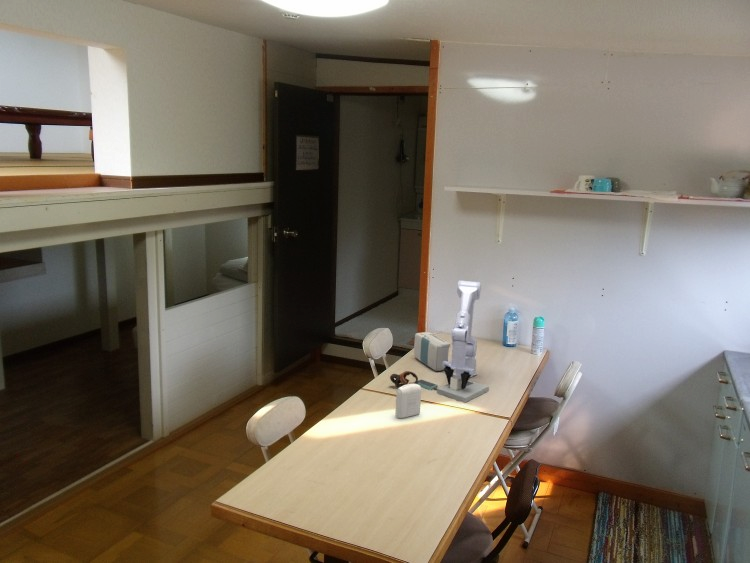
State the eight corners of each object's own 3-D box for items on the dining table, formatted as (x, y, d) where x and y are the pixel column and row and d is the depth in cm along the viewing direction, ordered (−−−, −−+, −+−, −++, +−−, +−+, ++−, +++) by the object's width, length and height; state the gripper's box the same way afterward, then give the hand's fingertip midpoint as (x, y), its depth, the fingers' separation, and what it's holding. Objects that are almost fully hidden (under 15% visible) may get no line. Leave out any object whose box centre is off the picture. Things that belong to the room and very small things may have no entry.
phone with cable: (414, 384, 267) (414, 381, 267) (420, 381, 270) (420, 379, 270) (437, 392, 259) (437, 389, 259) (443, 389, 262) (444, 386, 262)
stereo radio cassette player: (412, 358, 301) (414, 319, 296) (427, 356, 304) (429, 317, 300) (434, 372, 282) (437, 331, 278) (449, 370, 286) (452, 329, 281)
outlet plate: (460, 382, 272) (461, 377, 271) (488, 391, 263) (488, 385, 262) (436, 393, 258) (437, 387, 258) (465, 402, 249) (465, 397, 249)
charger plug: (455, 389, 262) (456, 375, 261) (461, 391, 260) (462, 377, 259) (449, 392, 259) (450, 377, 258) (456, 394, 257) (457, 379, 256)
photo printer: (415, 410, 241) (416, 380, 238) (421, 414, 237) (423, 383, 234) (393, 415, 235) (394, 385, 232) (400, 419, 231) (401, 388, 229)
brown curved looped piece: (413, 383, 269) (420, 371, 264) (413, 400, 262) (419, 388, 257) (387, 376, 268) (393, 364, 263) (386, 393, 260) (392, 380, 255)
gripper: (438, 353, 259) (437, 383, 261) (468, 362, 249) (465, 393, 252) (448, 349, 264) (446, 379, 267) (477, 358, 255) (475, 389, 257)
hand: (456, 386), depth 260 cm, fingers open, 6 cm apart
